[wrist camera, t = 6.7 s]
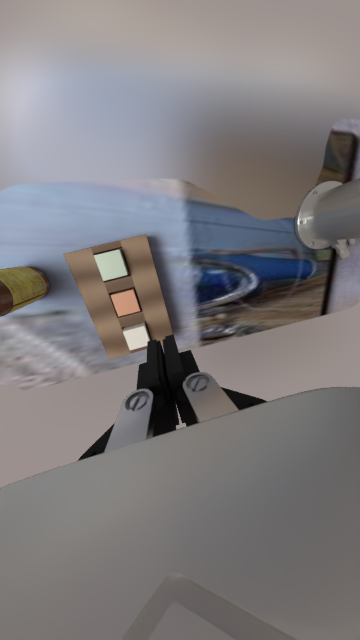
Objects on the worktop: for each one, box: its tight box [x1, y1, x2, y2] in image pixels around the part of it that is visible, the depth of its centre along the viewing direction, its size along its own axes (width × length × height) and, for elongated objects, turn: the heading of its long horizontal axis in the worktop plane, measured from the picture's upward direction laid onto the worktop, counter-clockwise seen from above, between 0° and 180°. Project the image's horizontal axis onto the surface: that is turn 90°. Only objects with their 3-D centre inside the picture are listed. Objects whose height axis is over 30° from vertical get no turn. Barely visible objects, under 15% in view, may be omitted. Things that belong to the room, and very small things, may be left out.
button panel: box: [64, 234, 173, 359], centre depth 36 cm, size 21×14×4 cm, turn 13°
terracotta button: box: [110, 287, 141, 317], centre depth 35 cm, size 4×4×3 cm
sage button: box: [94, 249, 129, 281], centre depth 32 cm, size 4×4×3 cm
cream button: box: [123, 321, 150, 350], centre depth 37 cm, size 4×4×3 cm
